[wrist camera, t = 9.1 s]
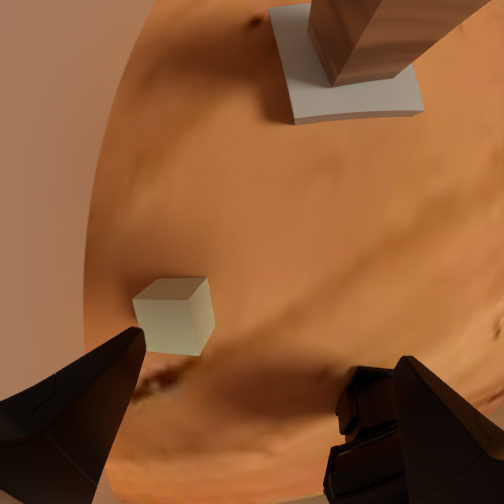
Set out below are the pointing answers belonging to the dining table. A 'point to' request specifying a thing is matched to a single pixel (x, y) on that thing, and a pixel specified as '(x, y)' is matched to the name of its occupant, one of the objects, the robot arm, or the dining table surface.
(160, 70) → the dining table surface
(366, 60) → the walnut pillar
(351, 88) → the slate slab
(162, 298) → the sage cube
